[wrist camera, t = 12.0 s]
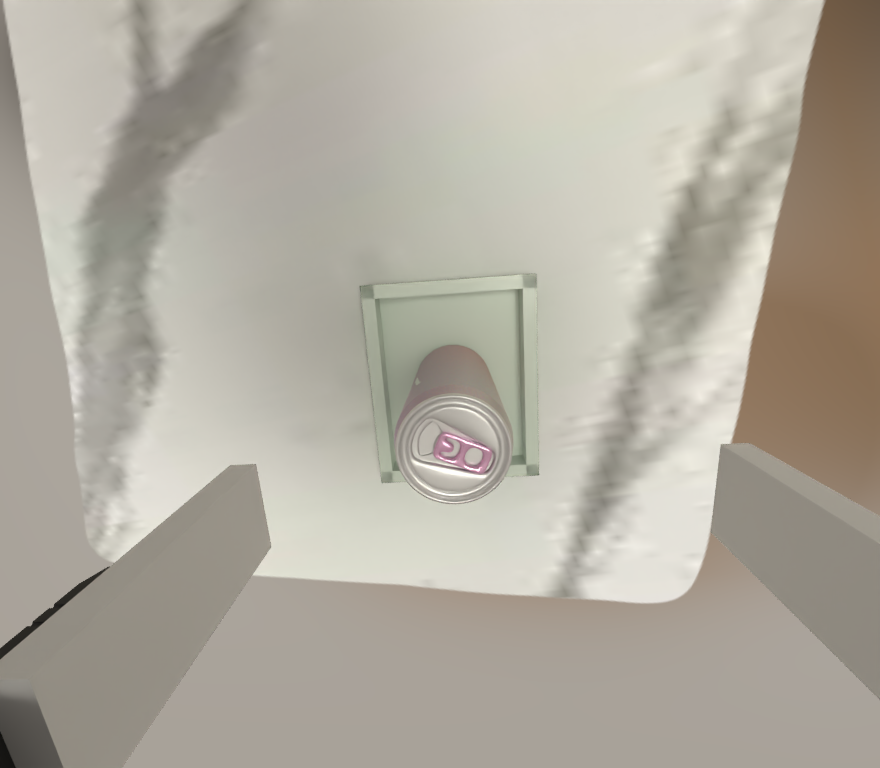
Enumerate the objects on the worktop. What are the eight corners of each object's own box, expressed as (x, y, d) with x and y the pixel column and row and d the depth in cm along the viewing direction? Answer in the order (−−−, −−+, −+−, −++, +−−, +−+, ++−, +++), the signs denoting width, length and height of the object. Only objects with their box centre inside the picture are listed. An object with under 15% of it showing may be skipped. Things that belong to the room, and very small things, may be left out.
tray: (366, 285, 33) (359, 286, 31) (530, 274, 33) (536, 273, 30) (386, 469, 37) (381, 482, 34) (533, 462, 36) (538, 475, 34)
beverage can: (473, 423, 35) (488, 524, 20) (407, 399, 35) (373, 483, 20) (500, 358, 34) (537, 417, 19) (432, 332, 33) (415, 371, 19)
